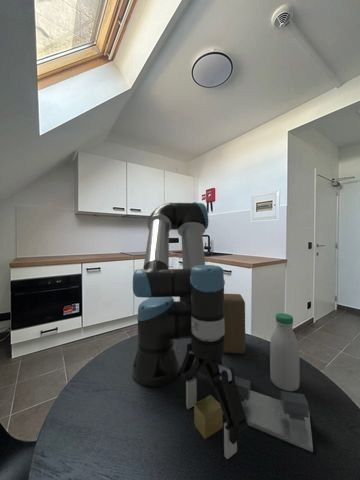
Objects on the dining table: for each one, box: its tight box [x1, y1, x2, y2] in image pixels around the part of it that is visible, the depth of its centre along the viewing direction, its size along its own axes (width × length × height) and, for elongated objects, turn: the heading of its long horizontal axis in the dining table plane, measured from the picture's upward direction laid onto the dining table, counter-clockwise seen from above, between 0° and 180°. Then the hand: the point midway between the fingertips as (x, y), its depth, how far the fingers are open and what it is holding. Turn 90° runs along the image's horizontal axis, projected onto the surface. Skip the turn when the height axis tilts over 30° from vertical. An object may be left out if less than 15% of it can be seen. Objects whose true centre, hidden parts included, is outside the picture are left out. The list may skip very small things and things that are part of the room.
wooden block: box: [224, 293, 246, 354], centre depth 80 cm, size 10×10×20 cm
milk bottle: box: [269, 312, 301, 392], centre depth 60 cm, size 8×8×20 cm
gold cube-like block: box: [193, 394, 223, 440], centre depth 46 cm, size 5×4×5 cm
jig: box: [222, 375, 314, 453], centre depth 49 cm, size 19×10×6 cm, turn 61°
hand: (208, 427), depth 46 cm, fingers open, 13 cm apart
